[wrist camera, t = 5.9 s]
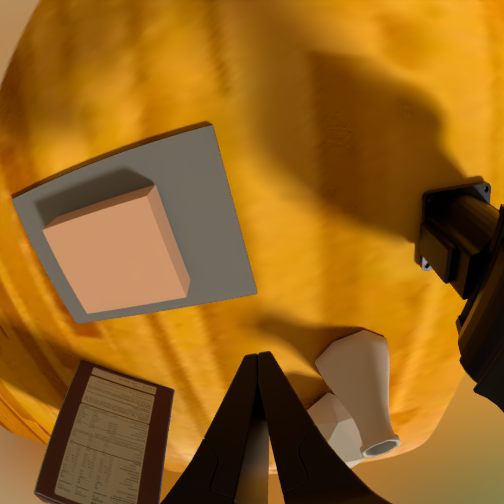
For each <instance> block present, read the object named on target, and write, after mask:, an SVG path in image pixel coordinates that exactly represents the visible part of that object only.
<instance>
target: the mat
mask: <svg viewBox="0 0 504 504" xmlns="http://www.w3.org/2000/svg"><path fill="white" fill-rule="evenodd" d="M153 185H156V187H157V190H158V193H159V195H160V198H161V201H162V204H163V207H164V210H165V213H166V215H167V218H168V221H169V224H170V227H171V229H172V232H173V235H174V237H175V240H176V243H177V246H178V248H179V251H180V254H181V256H182V259H183V261H184V264H185V267H186V269H187V272H188V274H189V277H190V284H189V288H188V292H187V297H185V298H180V299H174V300H168V301H162V302H157V303H151V304H145V305H139V306H133V307H127V308H121V309H115V310H109V311H102V312H96V313H89V314H87V313H86V311H85V309H84V308H83V306H82V304H81V303H80V301H79V299H78V298H77V296H76V294H75V292H74V291H73V289H72V287H71V285H70V284H69V282H68V280H67V278H66V276H65V275H64V273H63V271H62V269H61V267H60V265H59V263H58V261H57V259H56V257H55V255H54V253H53V251H52V249H51V247H50V245H49V243H48V241H47V239H46V237H45V235H44V233H43V231H42V230H43V229H44V228H45V227H46V226H47V225H48V224H49V223H50V222H51V221H53V220H54V219H55V218H56V217H58V216H61V215H64V214H66V213H69V212H72V211H75V210H78V209H80V208H83V207H86V206H89V205H92V204H95V203H98V202H101V201H104V200H107V199H110V198H113V197H116V196H120V195H123V194H126V193H129V192H132V191H136V190H139V189H142V188H146V187H149V186H153ZM12 202H13V204H14V206H15V209H16V211H17V213H18V216H19V218H20V220H21V223H22V225H23V227H24V229H25V231H26V233H27V235H28V238H29V240H30V242H31V244H32V246H33V248H34V250H35V252H36V254H37V256H38V258H39V260H40V262H41V263H42V265H43V267H44V269H45V271H46V273H47V275H48V276H49V278H50V280H51V282H52V284H53V285H54V287H55V289H56V291H57V292H58V294H59V296H60V297H61V299H62V301H63V302H64V304H65V306H66V307H67V309H68V310H69V312H70V314H71V315H72V317H73V318H74V320H75V322H76V323H77V324H78V323H85V322H92V321H100V320H107V319H114V318H120V317H127V316H134V315H140V314H146V313H153V312H159V311H165V310H171V309H177V308H183V307H189V306H195V305H200V304H206V303H212V302H217V301H223V300H228V299H233V298H239V297H244V296H249V295H254V294H257V289H256V285H255V281H254V277H253V274H252V270H251V266H250V263H249V259H248V255H247V251H246V248H245V244H244V240H243V237H242V233H241V229H240V225H239V222H238V218H237V214H236V210H235V207H234V203H233V199H232V195H231V192H230V188H229V184H228V180H227V177H226V173H225V169H224V165H223V162H222V158H221V154H220V150H219V146H218V143H217V139H216V135H215V131H214V127H213V124H212V125H208V126H205V127H201V128H197V129H194V130H190V131H186V132H183V133H179V134H176V135H173V136H169V137H166V138H163V139H159V140H156V141H153V142H150V143H147V144H144V145H141V146H138V147H135V148H132V149H129V150H126V151H123V152H121V153H118V154H115V155H112V156H110V157H107V158H104V159H102V160H99V161H96V162H94V163H91V164H89V165H86V166H84V167H81V168H79V169H76V170H74V171H71V172H69V173H67V174H64V175H62V176H60V177H57V178H55V179H53V180H51V181H48V182H46V183H44V184H42V185H40V186H38V187H35V188H33V189H31V190H29V191H27V192H25V193H23V194H21V195H19V196H17V197H15V198H13V199H12Z"/></svg>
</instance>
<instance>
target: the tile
mask: <svg viewBox="0 0 504 504" xmlns="http://www.w3.org/2000/svg"><path fill="white" fill-rule="evenodd" d="M42 231H43V233H44V235H45V237H46V239H47V241H48V243H49V245H50V247H51V249H52V251H53V253H54V255H55V257H56V259H57V261H58V263H59V265H60V267H61V269H62V271H63V273H64V275H65V276H66V278H67V280H68V282H69V284H70V285H71V287H72V289H73V291H74V292H75V294H76V296H77V298H78V299H79V301H80V303H81V304H82V306H83V308H84V309H85V311H86V313H87V314H89V313H96V312H102V311H109V310H115V309H121V308H127V307H133V306H139V305H145V304H151V303H157V302H162V301H168V300H174V299H180V298H185V297H187V292H188V288H189V284H190V277H189V274H188V272H187V269H186V267H185V264H184V261H183V259H182V256H181V254H180V251H179V248H178V246H177V243H176V240H175V237H174V235H173V232H172V229H171V227H170V224H169V221H168V218H167V215H166V213H165V210H164V207H163V204H162V201H161V198H160V195H159V193H158V190H157V187H156V185H153V186H149V187H146V188H142V189H139V190H136V191H132V192H129V193H126V194H123V195H120V196H116V197H113V198H110V199H107V200H104V201H101V202H98V203H95V204H92V205H89V206H86V207H83V208H80V209H78V210H75V211H72V212H69V213H66V214H64V215H61V216H58V217H56V218H55V219H54V220H53V221H51V222H50V223H49V224H48V225H47V226H46V227H45V228H44V229H43V230H42Z"/></svg>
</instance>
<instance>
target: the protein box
mask: <svg viewBox="0 0 504 504" xmlns="http://www.w3.org/2000/svg"><path fill="white" fill-rule="evenodd" d="M173 396H174V390H172V389H169V388H165V387H162V386H158V385H154V384H151V383H148V382H144V381H141V380H137V379H134V378H131V377H128V376H125V375H121V374H118V373H115V372H112V371H110V370H106V369H104V368H101V367H98V366H95V365H93V364H90V363H87V362H85V361H82V360H81V361H80V362H79V364H78V367H77V369H76V371H75V374H74V376H73V379H72V381H71V384H70V386H69V388H68V391H67V393H66V396H65V399H64V401H63V404H62V406H61V409H60V412H59V414H58V417H57V420H56V423H55V425H54V428H53V431H52V434H51V437H50V439H49V443H48V446H47V449H46V452H45V455H44V458H43V462H42V465H41V468H40V472H39V475H38V478H37V482H36V485H35V489H34V494H35V495H36V496H37V497H38V498H39V499H40V500H42V501H43V502H44V503H45V504H160V494H161V485H162V477H163V469H164V461H165V453H166V446H167V438H168V431H169V424H170V417H171V409H172V402H173Z"/></svg>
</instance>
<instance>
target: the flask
mask: <svg viewBox="0 0 504 504" xmlns="http://www.w3.org/2000/svg"><path fill="white" fill-rule="evenodd" d="M314 363H315V365H316V367H317V369H318V371H319V373H320V375H321V377H322V378H323V380H324V381H325V382H326V384H327V385H328V386H329V388H330V389H331V390H332V391H333V393H334V394H335V395H336V397H337V398H338V399H339V400H340V402H341V403H342V405H343V406H344V407H345V409H346V410H347V411H348V413H349V414H350V416H351V417H352V418H353V420H354V422H355V424H356V426H357V428H358V430H359V433H360V437H361V440H362V446H361V447H360V452H361V454H362V456H363V457H364V458H375V457H378V456H380V455H383V454H386V453H388V452H390V451H392V450H393V449H395V448H396V447H398V446H400V439H399V437H398V435H396V434H394V432H393V430H392V426H391V423H390V416H389V408H388V404H389V370H390V355H389V350H388V345H387V340H386V338H384V337H382V336H379V335H377V334H374V333H371V332H369V331H366V330H362V331H360V332H357V333H355V334H352V335H350V336H347V337H345V338H342V339H339V340H337V341H334V342H333V343H332V344H331V345H330V346H329V347H328V348H327V349H326V350H325V351H324V352H323V353H322V354H321V355H320V356H319V357H318V358H317V359H316V360H315V361H314Z"/></svg>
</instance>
